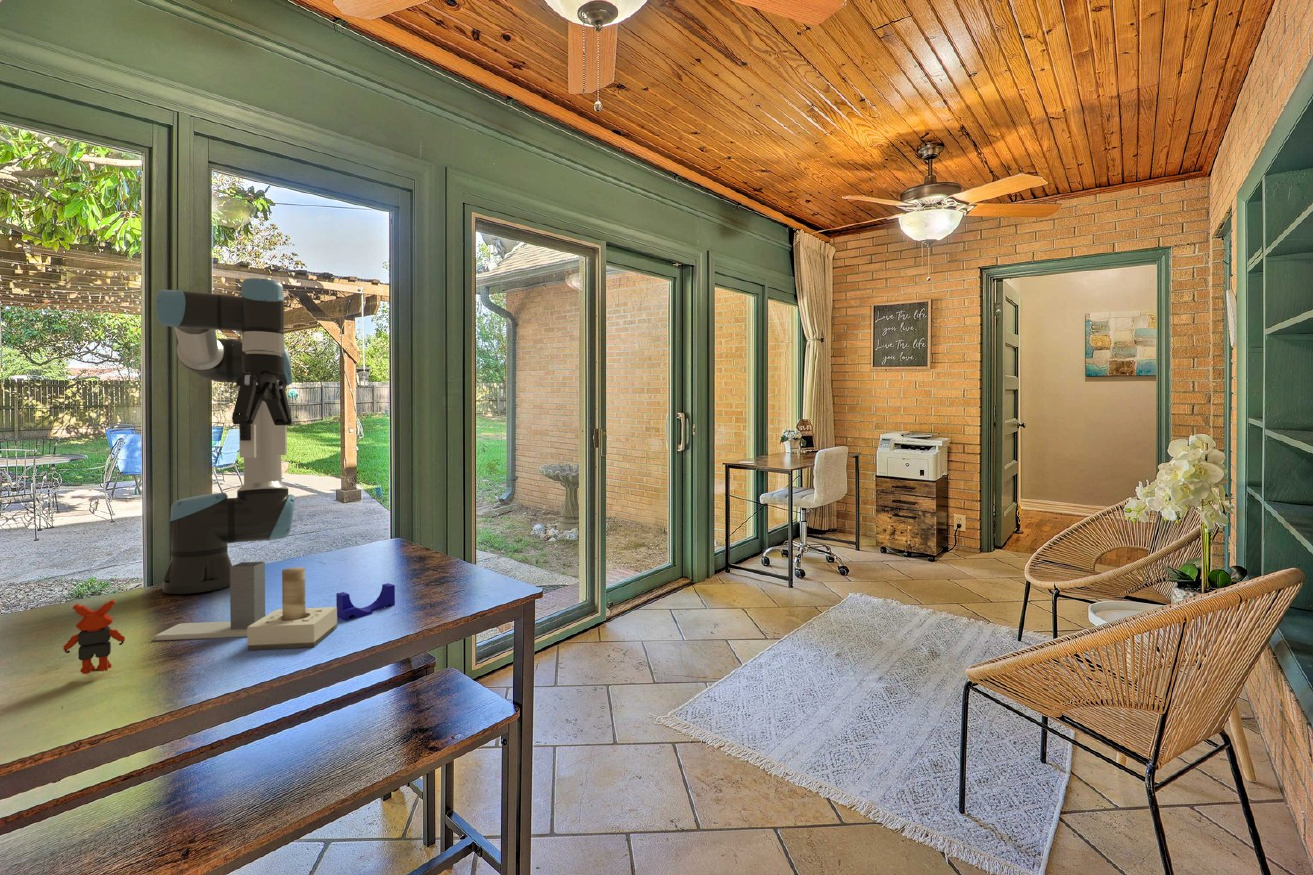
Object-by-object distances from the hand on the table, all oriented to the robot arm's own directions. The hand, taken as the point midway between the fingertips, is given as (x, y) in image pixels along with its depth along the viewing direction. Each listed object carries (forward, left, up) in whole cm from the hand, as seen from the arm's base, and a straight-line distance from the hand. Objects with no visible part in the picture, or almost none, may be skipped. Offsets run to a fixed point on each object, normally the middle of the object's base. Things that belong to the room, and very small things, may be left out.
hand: (264, 456), depth 131 cm
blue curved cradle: (-9, +17, -37) cm, 42 cm away
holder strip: (-1, -10, -37) cm, 38 cm away
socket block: (+6, +8, -37) cm, 38 cm away
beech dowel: (+6, +8, -36) cm, 37 cm away
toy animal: (+18, -20, -37) cm, 46 cm away
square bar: (-1, -4, -36) cm, 36 cm away
